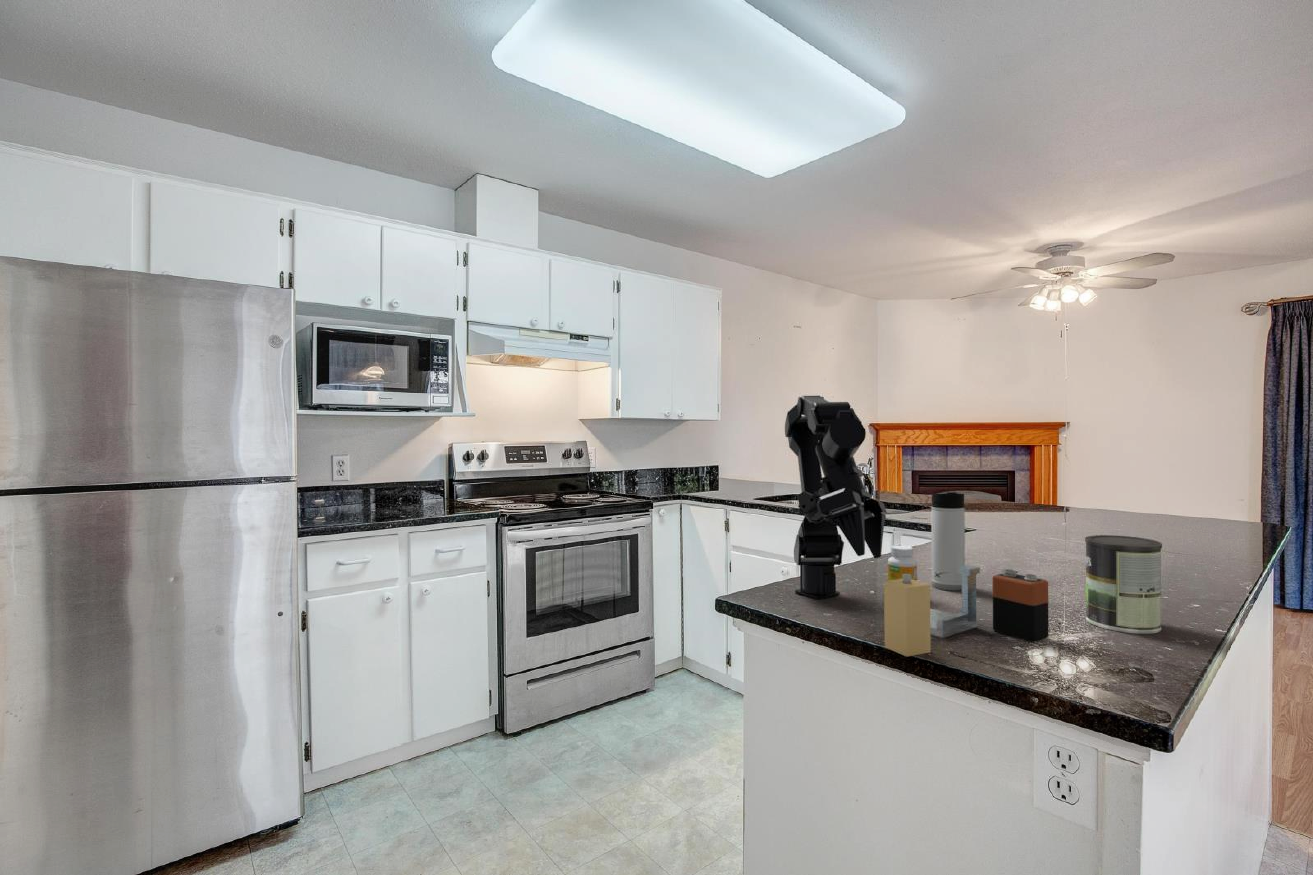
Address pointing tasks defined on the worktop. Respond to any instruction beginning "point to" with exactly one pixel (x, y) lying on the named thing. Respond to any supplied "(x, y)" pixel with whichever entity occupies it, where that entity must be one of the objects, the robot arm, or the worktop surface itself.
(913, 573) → the supplement bottle
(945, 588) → the travel mug
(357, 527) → the worktop surface
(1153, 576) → the coffee can
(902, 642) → the block
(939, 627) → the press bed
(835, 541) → the robot arm
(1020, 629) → the battery
